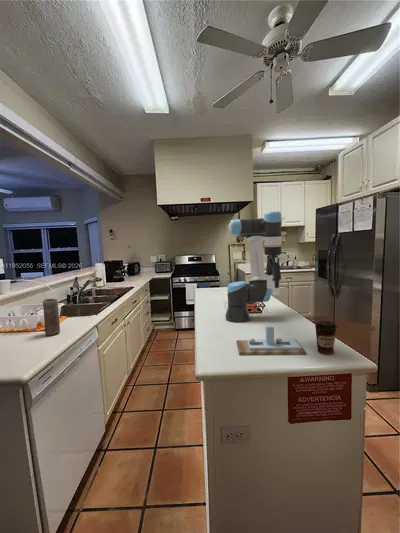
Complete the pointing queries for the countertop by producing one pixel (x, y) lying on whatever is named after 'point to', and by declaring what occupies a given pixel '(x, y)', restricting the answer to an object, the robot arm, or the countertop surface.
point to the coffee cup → (325, 336)
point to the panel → (276, 346)
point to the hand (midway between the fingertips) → (272, 291)
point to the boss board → (245, 350)
